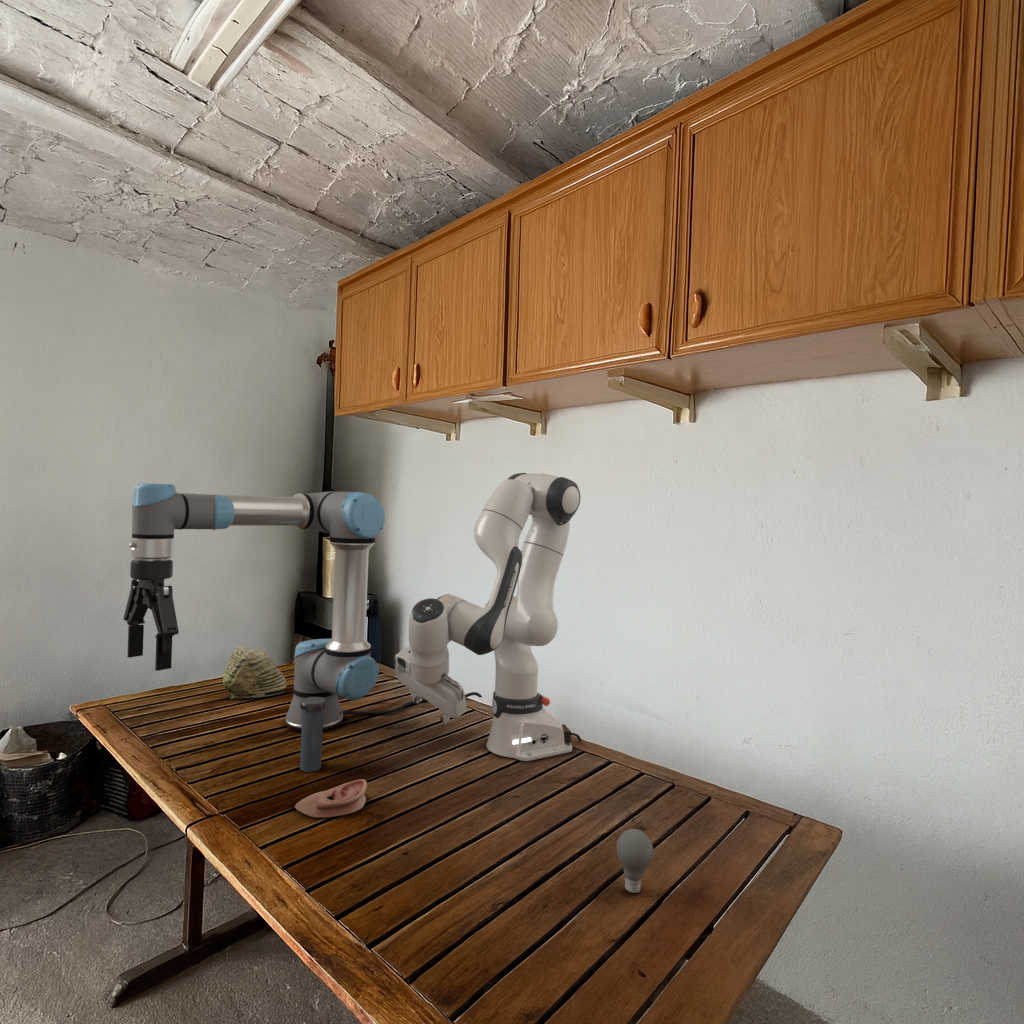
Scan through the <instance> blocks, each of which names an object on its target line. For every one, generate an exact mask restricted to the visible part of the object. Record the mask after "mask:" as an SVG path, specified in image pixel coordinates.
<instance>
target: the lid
mask: <svg viewBox="0 0 1024 1024" xmlns="http://www.w3.org/2000/svg"><path fill="white" fill-rule="evenodd" d="M325 704H326V701H325V699H324V698H322V697H307V698H304V699H302V700H301V704H300V708H301V709H302V710H304V711H319V710H322V709H324V708H325Z"/></svg>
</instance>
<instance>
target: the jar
mask: <svg viewBox="0 0 1024 1024" xmlns="http://www.w3.org/2000/svg"><path fill="white" fill-rule="evenodd" d="M323 711H324V709H322V710H319V711H304V710H302V725H301V731H300V732H301V733H300V756H299V770H300V771H301V772H303V773H304V772H305V773H312V772H317V771H319V770H320V769H322V762H323V761H322V760H323V735H324V734H323V732H324V731H323Z"/></svg>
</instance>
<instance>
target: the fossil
mask: <svg viewBox="0 0 1024 1024" xmlns="http://www.w3.org/2000/svg"><path fill="white" fill-rule="evenodd" d="M222 676H223V677H222V685H223V687H224V688H225V690H226V691H228V693H229V698H230V699H250V698H264V697H271V696H275V695H281V694H284V693H285V691H286V689H287V687H288V686H287V680H286V678H285V676H284V674H283V673H282V672H281V669H279V668H278V667H277V665H276V663H275V662H274V660H273V659H272V658H271V657H270V656H269V655H268V654H267V653H266V652H265V650H264V649H263V648H260V647H258V648H251V647H247V646H246V647H245V646H238V647H237V648H236V649H235V650H233V651H232V653H231V656H230V657H229V659H228V660H227V663H226V666H225V668H224V671H223V675H222Z"/></svg>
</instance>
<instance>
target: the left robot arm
mask: <svg viewBox="0 0 1024 1024" xmlns="http://www.w3.org/2000/svg"><path fill="white" fill-rule="evenodd" d="M385 515H386V513H385V511H384V508H383V505H382V503H381V502H380V501H379V500H378V498H377V497H375V495H373V494H370V493H367V492H363V491H362V492H361V491H337V490H336V491H335V490H333V491H332V490H330V491H321V492H311V493H295V494H294V495H293V496H276V495H275V496H274V495H273V496H272V495H248V494H247V495H246V494H244V495H243V494H220V493H219V494H218V493H217V494H216V493H215V494H214V493H189V492H187V493H186V492H177V491H176V486H175V485H174V484H173V483H152V482H139V483H137V484H136V485H135V486H134V488H133V492H132V501H131V520H132V521H131V542H130V543H128V547H129V548H130V549H131V550H130V556H131V558H133V559H132V560H131V561H130V567H129V568H130V571H129V574H130V575H129V576H130V578H131V581H130V590H129V594H128V598H127V603H126V607H125V610H124V615H123V621H124V622H126V624H127V626H128V629H127V630H128V631H127V658H135V657H142V656H144V635H145V634H144V630H145V625H144V624H145V623H146V621H145V619H144V618H145V616H146V615H147V612H148V609H149V610H151V613H152V618H153V620H154V624H155V627H156V631H157V633H156V635H155V636H154V638H155V661H154V663H155V665H154V668H155V669H154V670H155V671H157V672H159V671H164V670H169V669H172V659H173V657H172V655H173V637H175V636H176V635H179V632H180V631H179V625H178V619H177V615H176V614H177V613H176V609H175V603H174V597H173V595H174V593H173V585H165V580H167V579H171V578H172V577H173V575H174V573H173V572H174V561H173V560H172V559H171V558H173V557H174V554H175V553H174V552H175V530H213V531H215V530H224V529H228V528H230V526H233V527H234V526H237V527H238V526H240V527H243V526H246V527H247V526H249V527H250V526H258V527H259V526H268V527H269V526H276V527H277V526H282V527H284V526H285V527H286V526H287V527H288V526H289V527H290V526H291V527H293V528H294V529H296V530H308V531H309V530H310V531H316V532H319V533H325V534H329V544H330V545H331V546H332V547H333V548H334V550H335V551H334V572H333V573H334V577H333V599H332V625H331V626H332V627H331V638H317V639H308V640H304V641H300V642H299V643H297V645H296V646H295V650H294V655H293V657H294V672H293V673H294V674H293V695H292V696H293V697H292V699H291V702H290V704H289V708H288V711H287V713H286V715H285V726H286V728H287V729H289V730H291V731H294V732H295V731H296V732H301V725H302V709H301V708H300V704H301V700H302V699H304V698H307V697H322V698H324V699H325V701H326V704H325V708H324V711H323V732H325V731H329V730H332V729H335V728H337V727H339V726H340V725H342V723H343V722H344V715H358V716H361V715H362V716H365V715H367V716H371V715H375V716H376V715H387V714H391V713H396V712H398V711H400V710H402V709H404V708H406V707H409V706H411V705H412V706H413V705H414V704H416V703H415V702H413V700H411V701H408V702H405V703H403V704H401V705H399V706H397V707H394V708H391V709H383V710H343V709H342V706H341V702H340V699H339V698H341V699H342V700H343V699H344V700H348V701H349V700H350V701H357V700H360V699H362V698H364V697H365V696H367V695H368V694H370V692H371V690H372V689H374V687H375V685H376V683H377V682H378V678H379V674H380V672H379V671H380V670H379V669H380V668H379V665H378V663H377V662H376V660H375V659H374V657H371V652H372V649H371V648H372V644H371V643H370V642H368V640H367V639H366V631H367V607H368V606H367V605H368V604H367V602H368V582H369V581H368V579H369V555H370V553H369V552H370V550H371V548H372V547H374V545H375V544H376V536H378V535H379V534H380V533H381V530H383V528H384V526H385V522H386V521H385V520H386V516H385ZM471 696H476V697H478V698H483V695H482V694H481V693H479V692H477V691H472V692H468V693H465V699H466V698H468V697H471ZM422 702H428V701H427V700H426V699H424V698H423V697H422ZM422 702H421V703H422Z"/></svg>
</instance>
